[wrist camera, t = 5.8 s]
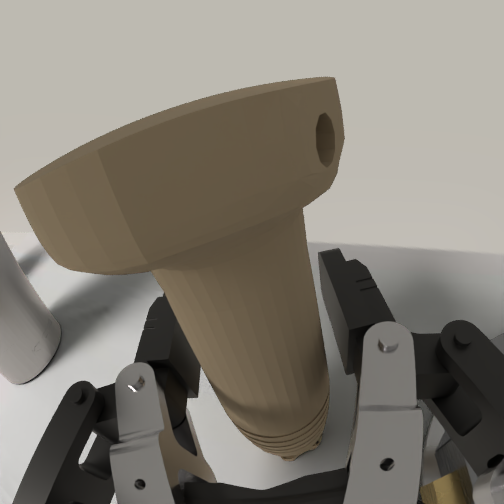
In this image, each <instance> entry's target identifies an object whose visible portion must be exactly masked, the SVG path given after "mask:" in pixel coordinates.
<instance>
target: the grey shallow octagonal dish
mask: <svg viewBox="0 0 504 504" xmlns="http://www.w3.org/2000/svg"><path fill="white" fill-rule="evenodd" d="M490 341H491V342H492V343H493V344H494V345H495V346H496V347H497V348H498V349H499V350H500V351H501V352H502V353H503V354H504V333H503V334H501V335H499V336H497V337H496V338H494V339H492V340H490ZM477 479H478V476H477V475H476V473H475V472H474V471H473V469H472V468H471V466H470V465H469V463H468V462H467V460H466V459H465V457H464V456H463V455H462V453H461V452H460V450H459V449H458V448H457V446H456V445H455V443H454V442H453V441H452V439H451V438H450V436H449V435H448V434H447V432H446V431H445V429H444V428H443V427H442V425H441V424H440V423H439V421H438V420H437V419H436V417H435V416H434V414H433V417H432V419H431V422H430V424H429V428H428V431H427V435H426V438H425V442H424V448H423V453H422V461H421V487H420V488H419V489H420V493H421V497H422V502H423V503H424V504H475V502H474V500H473V488H474V485H475V483H476V481H477Z"/></svg>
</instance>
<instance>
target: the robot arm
mask: <svg viewBox="0 0 504 504" xmlns="http://www.w3.org/2000/svg"><path fill="white" fill-rule="evenodd" d="M318 260H319V270H320V281H321V290H322V295H323V300H324V303H325V306H326V309H327V312H328V316H329V319H330V322H331V325H332V329H333V332H334V335H335V338H336V342H337V345H338V348H339V352H340V355H341V359H342V362H343V366H344V369H345V373H346V375H349V374H353V373H355V376H356V380H357V383H358V384H357V391H356V401H355V409H354V417H353V425H352V432H351V438H350V444H349V449H348V454H347V459H346V464H345V468H342V469H338V470H333V471H328V472H323V473H318V474H313V475H307V476H303V477H301V478H298V479H296V480H293V481H290V482H287V483H285V484H282V485H279V486H276V487H273V488H270V489H266V490H256V489H250V488H244V487H239V486H234V485H229V484H225V483H217V480H216V478H215V475H214V473H213V471H212V469H211V468H210V466H209V465H208V463H207V462H206V460H205V459H204V457H203V454H202V451H201V448H200V445H199V442H198V438H197V435H196V432H195V429H194V425H193V422H192V419H191V415H190V412H189V410H188V409H187V408H186V406H187V398H198V392H199V380H200V368H201V365H200V363H199V361H198V359H197V357H196V355H195V354H194V352H193V350H192V348H191V346H190V344H189V342H188V340H187V338H186V336H185V334H184V332H183V330H182V328H181V326H180V324H179V322H178V320H177V318H176V316H175V314H174V312H173V310H172V308H171V306H170V303H169V301H168V299H167V297H166V295H165V293H164V295H163V297H158V298H157V299H156V300H155V302H154V303H153V304H152V306H151V307H150V309H149V312H148V315H147V318H146V320H147V321H146V322H145V325H144V330H143V332H142V335H141V339H140V342H139V346H138V350H137V353H136V357H135V361H134V363H133V364H130V365H128V366H127V367H125V368H124V369H123V370H122V371H121V372H120V373H119V375H118V377H117V379H116V382H115V383H113V384H110V385H107V386H104V387H101V388H98V389H96V388H95V387H94V386H93V385H92V384H91V383H90V382H88V381H79V382H77V383H75V384H73V385H72V386H71V387H70V388H69V389H68V390H67V392H66V394H65V395H64V397H63V399H62V401H61V403H60V404H59V406H58V408H57V410H56V412H55V414H54V415H53V417H52V419H51V421H50V423H49V425H48V427H47V429H46V431H45V433H44V434H43V436H42V438H41V440H40V442H39V444H38V447H37V449H36V451H35V453H34V455H33V457H32V459H31V461H30V463H29V466H28V468H27V470H26V472H25V474H24V477H23V479H22V481H21V484H20V486H19V488H18V491H17V493H16V496H15V498H14V501H13V503H12V504H110V503H111V500H112V498H113V495H114V493H116V498H117V503H118V504H424V503H423V502H421V501H419V500H418V499H417V497H418V490H419V482H420V473H421V461H422V445H423V413H422V409H421V408H420V407H418V406H417V401H416V399H422V400H423V401H424V402H425V404H426V405H427V406H428V408H429V409H430V410H431V412H432V413H433V414H434V416H435V417H436V419H437V420H438V421H439V423H440V424H441V425H442V427H443V428H444V429H445V431H446V432H447V434H448V435H449V436H450V438H451V439H452V441H453V442H454V443H455V445H456V446H457V448H458V449H459V450H460V452H461V453H462V455H463V456H464V457H465V459H466V460H467V462H468V463H469V465H470V466H471V468H472V469H473V471H474V472H475V473H476V475H477V476H478V479H477V481H476V483H475V485H474V488H473V500H474V502H475V504H504V354H503V353H502V352H501V351H500V350H499V349H498V348H497V347H496V346H495V345H494V344H493V343H492V342H491V341H490V340H489V339H488V338H487V337H486V336H485V335H484V334H483V333H482V332H481V331H480V330H479V329H478V328H477V327H476V326H475V325H473V324H472V323H470V322H468V321H464V320H456V321H452V322H450V323H448V324H447V325H446V326H445V327H444V328H443V330H442V332H441V333H438V334H416V333H412V332H410V331H409V330H408V329H407V328H406V327H405V326H403V325H401V324H399V323H397V322H396V321H395V319H394V318H393V316H392V314H391V312H390V310H389V308H388V306H387V304H386V302H385V300H384V298H383V296H382V294H381V292H380V291H379V289H378V288H377V285H376V283H375V281H374V279H372V276H371V274H370V272H369V270H368V269H367V267H366V266H365V265H363V264H362V263H360V262H359V261H358V260H356V259H354V260H350V261H345V259H344V257H343V255H342V253H341V251H340V249H339V248H337V249H332V250H327V251H322V252H318ZM60 338H61V328H60V324H59V323H58V322H57V321H56V319H55V318H54V317H53V315H52V314H51V312H50V311H49V310H48V308H47V307H46V306H45V304H44V303H43V301H42V300H41V298H40V297H39V295H38V294H37V292H36V291H35V289H34V288H33V286H32V285H31V283H30V282H29V280H28V279H27V277H26V275H25V274H24V272H23V271H22V269H21V267H20V266H19V264H18V262H17V261H16V259H15V257H14V256H13V254H12V252H11V250H10V248H9V247H8V245H7V243H6V241H5V239H4V237H3V235H2V234H1V232H0V373H1V374H2V375H3V376H4V377H5V378H6V379H7V380H8V381H10V382H11V383H13V384H22V383H25V382H27V381H29V380H31V379H33V378H34V377H35V376H37V375H38V374H39V373H40V372H41V371H42V370H43V369H44V368H45V367H46V366H47V364H48V363H49V362H50V360H51V359H52V357H53V355H54V354H55V352H56V350H57V347H58V345H59V342H60ZM91 432H94V433H95V434H97V437H96V439H95V441H94V443H93V445H92V447H91V449H90V452H89V454H88V456H87V458H86V460H85V462H84V463H82V464H79V463H78V462H79V458H80V456H81V453H82V451H83V449H84V447H85V445H86V443H87V441H88V439H89V437H90V434H91Z"/></svg>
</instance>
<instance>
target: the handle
mask: <svg viewBox="0 0 504 504" xmlns="http://www.w3.org/2000/svg"><path fill="white" fill-rule="evenodd" d="M344 139H345V138H344V127H343V119H342V110H341V104H340V100H339V95H338V90H337V85H336V80H335V78H334V77H316V78H306V79H297V80H290V81H282V82H275V83H269V84H263V85H258V86H253V87H248V88H243V89H238V90H234V91H229V92H225V93H221V94H218V95H213V96H210V97H206V98H202V99H199V100H195V101H192V102H189V103H185V104H182V105H179V106H176V107H173V108H170V109H167V110H164V111H161V112H158V113H156V114H153V115H150V116H148V117H145V118H142V119H140V120H137V121H135V122H132V123H130V124H127V125H125V126H123V127H120V128H118V129H116V130H113V131H111V132H109V133H107V134H105V135H103V136H100V137H98V138H96V139H94V140H92V141H90V142H88V143H86V144H84V145H82V146H80V147H78V148H76V149H74V150H73V151H71V152H69V153H67V154H65V155H64V156H62V157H60V158H58V159H56V160H55V161H53V162H51V163H50V164H48V165H46V166H45V167H43V168H41V169H40V170H38V171H37V172H35V173H34V174H32V175H30V176H29V177H27V178H26V179H25V180H23V181H22V182H21V183H19V184H18V185H17V186H16V187H15V188H14V191H15V193H16V195H17V198H18V200H19V202H20V204H21V207H22V209H23V211H24V213H25V215H26V217H27V219H28V221H29V223H30V225H31V227H32V229H33V231H34V232H35V234H36V236H37V238H38V240H39V241H40V243H41V244H42V246H43V247H44V249H45V250H46V252H47V253H48V254H49V255H50V256H51V258H52V259H53V260H54V261H55V262H56V263H57V264H59V265H61V266H63V267H65V268H67V269H70V270H73V271H80V272H86V273H94V274H102V275H126V274H134V273H143V272H149V271H151V272H152V274H153V275H154V277H155V279H156V280H157V282H158V283H159V285H160V286H161V288H162V289H163V291H164V293H165V295H166V297H167V299H168V301H169V303H170V306H171V308H172V310H173V312H174V314H175V316H176V318H177V320H178V322H179V324H180V326H181V328H182V330H183V332H184V334H185V336H186V338H187V340H188V342H189V344H190V346H191V348H192V350H193V352H194V354H195V355H196V357H197V359H198V361H199V363H200V365H201V367H202V369H203V371H204V373H205V375H206V377H207V379H208V380H209V382H210V384H211V386H212V388H213V390H214V392H215V394H216V395H217V397H218V399H219V401H220V403H221V405H222V406H223V408H224V410H225V412H226V413H227V415H228V416H229V418H230V419H231V420H232V422H233V423H234V424H235V426H236V427H237V428H238V429H239V431H240V432H241V433H242V434H243V435H244V436H245V437H246V438H247V439H249V440H250V441H251V442H252V443H253V444H254V445H256V446H257V447H259V448H261V449H262V450H263V451H265V452H267V453H271V454H274V455H278V456H280V457H281V458H282V459H283V460H284V461H294V460H295V459H296V458H297V457H298V456H299V455H301V454H302V453H304V452H306V451H308V450H311V449H312V450H314V449H315V448H317V446H318V445H319V444H320V442H321V439H322V435H323V434H322V432H323V429H324V427H325V423H326V419H327V414H328V408H329V374H328V367H327V360H326V354H325V348H324V341H323V335H322V329H321V323H320V317H319V311H318V304H317V298H316V292H315V287H314V281H313V275H312V270H311V264H310V259H309V253H308V248H307V240H306V232H305V224H304V215H303V207H305V206H306V205H308V204H310V203H311V202H312V201H314V200H315V199H316V198H318V197H319V196H320V195H322V194H323V193H324V192H326V191H327V190H328V189H329V188H330V187H331V185H332V183H333V181H334V179H335V177H336V175H337V171H338V166H339V160H340V156H341V152H342V148H343V143H344Z"/></svg>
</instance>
